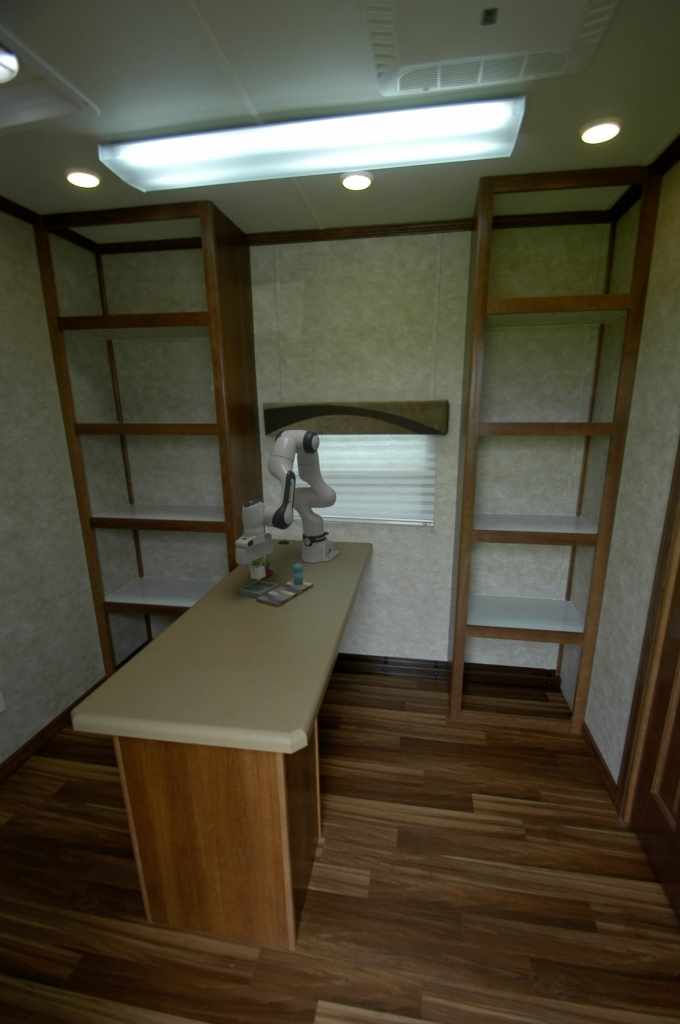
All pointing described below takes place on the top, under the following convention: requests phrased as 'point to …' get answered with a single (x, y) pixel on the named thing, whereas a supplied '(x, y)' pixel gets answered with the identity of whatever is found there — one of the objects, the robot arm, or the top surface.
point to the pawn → (298, 574)
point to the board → (284, 593)
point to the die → (258, 572)
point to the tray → (257, 588)
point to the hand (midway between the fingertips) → (257, 568)
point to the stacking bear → (267, 564)
